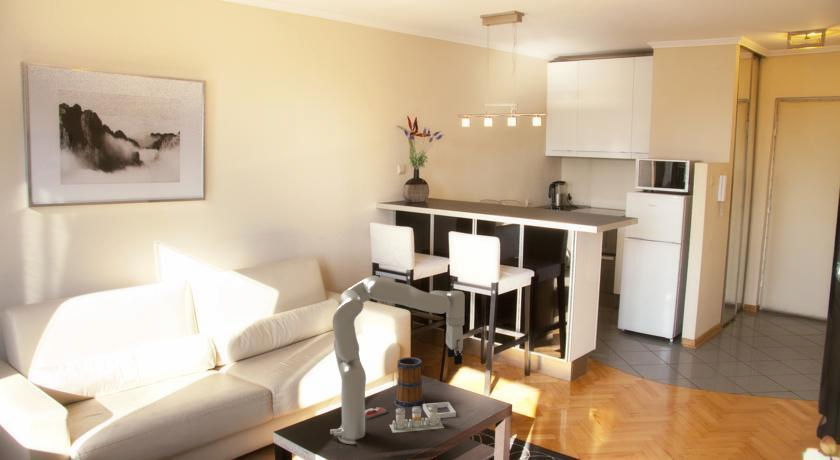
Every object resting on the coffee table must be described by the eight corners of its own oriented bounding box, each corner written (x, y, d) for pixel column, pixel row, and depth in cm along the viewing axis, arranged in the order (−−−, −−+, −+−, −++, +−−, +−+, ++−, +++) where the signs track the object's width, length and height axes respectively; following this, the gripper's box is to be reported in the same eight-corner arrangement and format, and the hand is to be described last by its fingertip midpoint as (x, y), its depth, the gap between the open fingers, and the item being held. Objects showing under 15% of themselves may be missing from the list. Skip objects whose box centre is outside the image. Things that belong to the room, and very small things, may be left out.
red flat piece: (378, 410, 301) (341, 421, 289) (378, 401, 301) (341, 412, 288) (390, 416, 295) (352, 428, 282) (390, 407, 294) (352, 418, 281)
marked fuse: (413, 428, 278) (413, 410, 277) (411, 424, 282) (411, 406, 281) (422, 427, 279) (422, 409, 278) (420, 424, 282) (420, 405, 281)
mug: (385, 395, 318) (385, 355, 315) (413, 391, 324) (413, 351, 321) (401, 410, 300) (401, 367, 298) (430, 405, 306) (430, 363, 304)
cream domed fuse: (396, 430, 276) (396, 411, 275) (395, 426, 280) (395, 408, 279) (405, 429, 277) (405, 410, 276) (403, 425, 281) (403, 407, 280)
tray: (429, 422, 288) (429, 414, 287) (422, 411, 299) (422, 404, 299) (455, 419, 291) (456, 412, 290) (448, 409, 302) (448, 401, 302)
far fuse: (429, 427, 280) (429, 408, 279) (427, 423, 283) (427, 405, 282) (438, 426, 280) (438, 408, 279) (435, 422, 284) (436, 404, 283)
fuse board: (392, 436, 274) (392, 425, 273) (389, 428, 282) (389, 417, 281) (444, 431, 279) (444, 421, 278) (439, 423, 287) (439, 413, 286)
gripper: (441, 315, 284) (440, 354, 286) (452, 326, 267) (451, 368, 269) (458, 315, 285) (457, 353, 288) (470, 325, 269) (469, 366, 271)
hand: (454, 360), depth 278 cm, fingers open, 9 cm apart
